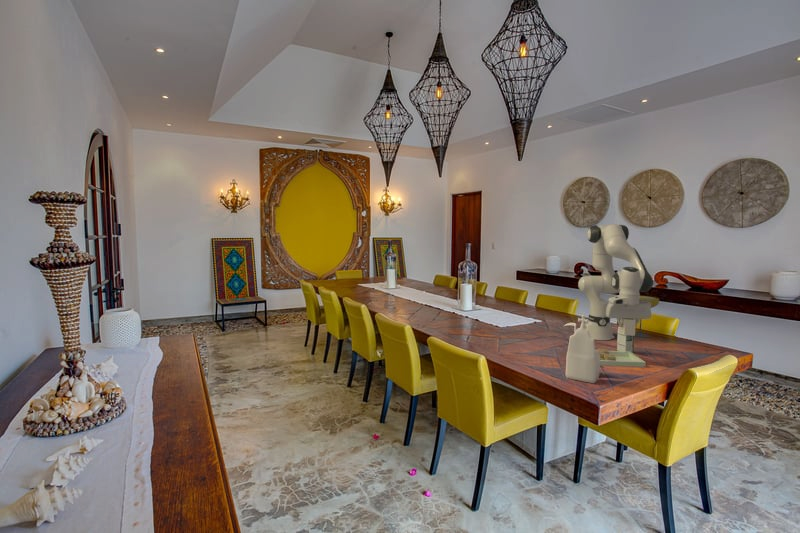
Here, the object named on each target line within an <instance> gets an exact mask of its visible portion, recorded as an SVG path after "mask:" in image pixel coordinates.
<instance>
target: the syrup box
mask: <svg viewBox="0 0 800 533" xmlns="http://www.w3.org/2000/svg"><path fill="white" fill-rule="evenodd" d="M616 340H617V342H616V343H617V344H616V346H617V347H616V348H617V350H616V351H627V352H632V353H633V354H634V349H635V347H634V346H635V336H630V335H623V334H621V333H620V327H619V326H618V327H617V339H616Z"/></svg>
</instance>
